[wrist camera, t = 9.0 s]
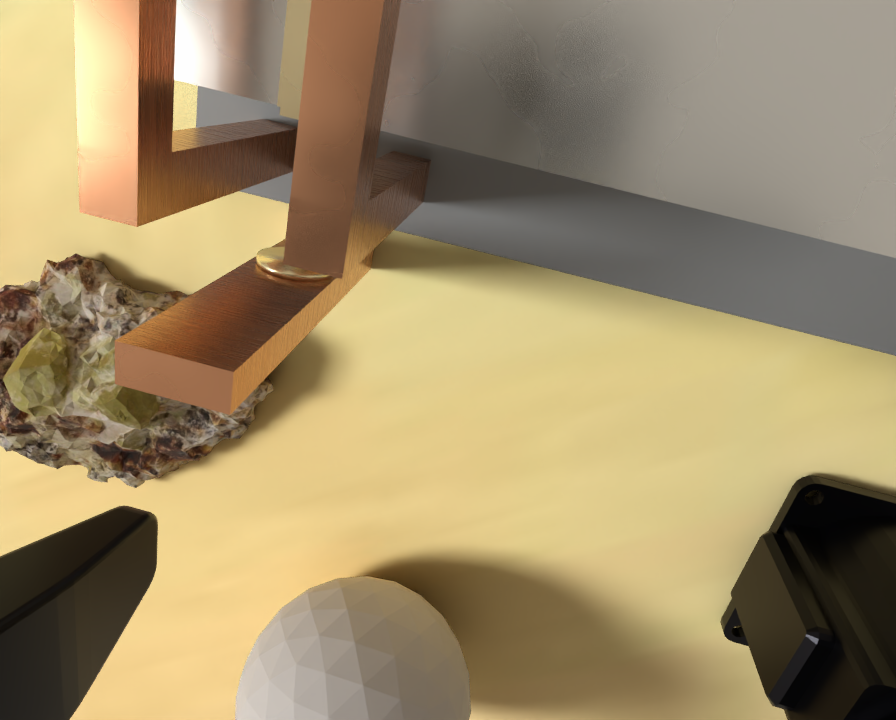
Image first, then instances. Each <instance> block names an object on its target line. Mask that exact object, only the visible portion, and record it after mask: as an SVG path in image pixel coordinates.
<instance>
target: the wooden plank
mask: <svg viewBox="0 0 896 720" xmlns="http://www.w3.org/2000/svg"><path fill="white" fill-rule="evenodd" d="M285 240H286V239H284V240H283V241H281V242H279V243H278V244H276V245H274V246H273V247H271V248H265V249H262V250H260V251H259V252H258V253H257V256H256V257H254V258H253V259H251V260H249V261H247V262H246V263H244V264H242V265H241V266H239V267H237V268H236V269H234V270H232V271H231V272H229V273H227V274H226V275H224V276H222V277H221V278H219V279H217V280H216V281H214V282H212V283H211V284H209V285H207V286H206V287H204V288H202V289H200V290H199V291H197V292H195V293H194V294H192V295H190V296H189V297H187V298H185V299H184V300H182V301H180V302H179V303H177V304H175V305H174V306H172V307H170V308H169V309H167V310H165V311H164V312H162V313H160V314H158V315H157V316H155V317H153V318H152V319H150V320H148V321H147V322H145V323H143V324H142V325H140V326H138V327H137V328H135V329H133V330H132V331H130V332H128V333H127V334H125V335H123V336H122V337H120V338H118V339H116V340H115V384H116V385H120V386H124V387H127V388H131V389H135V390H139V391H142V392H146V393H150V394H154V395H157V396H161V397H165V398H169V399H172V400H176V401H180V402H183V403H187V404H191V405H195V406H198V407H202V408H206V409H210V410H213V411H217V412H221V413H225V414H228V415H231V414H232V413H233V412H234V411H235V409H236V408H237V407H238V406H239V405H240V404H241V403H242V402H243V401H244V400H245V399H246V398H247V397H248V396H249V395H250V394H251V393H252V392H253V391H254V390H255V389H256V388H257V387H258V386H259V384H260V383H261V382H262V381H263V380H264V379H265V378H266V377H267V376H268V375H269V374H270V373H271V372H272V371H273V370H274V369H275V368H276V367H277V366H278V365H279V364H280V363H281V362H282V361H283V360H284V358H285V357H286V356H287V355H288V354H289V353H290V352H291V351H292V350H293V349H294V348H295V347H296V346H297V345H298V344H299V343H300V342H301V341H302V340H303V339H304V338H305V337H306V336H307V335H308V333H309V332H310V331H311V330H312V329H313V328H314V327H315V326H316V325H317V324H318V323H319V322H320V321H321V320H322V319H323V318H324V317H325V316H326V315H327V314H328V313H329V312H330V311H331V310H332V309H333V307H334V306H335V305H336V304H337V303H338V302H339V301H340V300H341V299H342V298H343V297H344V296H345V295H346V294H347V293H348V292H349V291H350V290H351V289H352V288H353V287H354V286H355V285H356V284H357V282H358V281H359V280H360V279H361V278H362V277H363V276H364V275H365V274H366V273H367V272H368V271H369V270H370V269H371V263H372V257H373V251H374V249H373V250H372V251H371V252H370V253H369V254H368V255H367V256H366V257H365V258H364V259H363V260H362V261H361V262H360V263H359V264H358V265H357V266H356V267H354V268H353V269H352V270H351V271H350V272H349V273H348V274H347V275H346V276H345V277H344V278H343V279H340V278H336V277H332V276H328V275H324V274H320V273H316V272H312V271H308V270H304V269H300V268H297V267H293V266H289V265H285V264H283V259H284V250H285Z"/></svg>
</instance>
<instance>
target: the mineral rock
mask: <svg viewBox="0 0 896 720" xmlns="http://www.w3.org/2000/svg"><path fill="white" fill-rule="evenodd" d="M191 295H192V294H191ZM189 296H190V295H186V294H184V293H182V292H180V291H174V292H166V293H165V294H157V293H153V292H147V291H139V290H135V289H133V288H131V287H130V286H129V285H127V284H125V283H123V282H122V281H121V280H116V279H115V278H114V277H113V276H112V275H111V274H110V272H109V271H108V270H107V268H106V266H105V265H104V263H103V262H101V261H96V260H91V259H87V258H84V257H82V256H80V255H78V254H74V255H73V256H71V257H67V258H66V259H65V260H64V261H61V262H58V263H56V262H53V261H50V260H47V262H46V264H45V266H44V269H43V272H42V275H41V279H40V281H39V282H35V281H30V282H27V283H25V284H24V285H16V286H13V285H5V286H4V287H3V288H1V289H0V446H2V447H4V448H5V450H6V451H11V450H13V451H16V452H18V453H19V454H21V455H23V456H25V457H27V458H29V459H31V460H34V461H35V462H37V463H41V464H45V465H48V466H50V467H54V468H57V469H58V468H60V467H62V466H64V465H82V466H84V467H87V468H88V470H89V471H88V475H87V477H88V478H90V479H92V480H94V481H100V482H107V478H110V477H114V476H116V477H117V478H120V479H121V480H122V481H123V482H124V483H126V484H127V485H129V486H132V487H134V488H136V487H138V486H139V485H141V484H143V483H144V482H145V480H150V479H153V478H156V477H158V478H160V477H161V476H163V475H164V474H165V473H167V472H169V471H174V470H176V469H178V468H179V465H181V464H187V463H188V462H189V461H196V460H199V459H200V457H201V455H202V456H206V455H207V454H208V453H210V452H211V451H212V448H213V446H214V445H216V444H217V443H219V442H220V441H222V440H223V439H230V438H240V437H241V436H242V435H243V433H244V432H245V431H246V430H247V429H248V427H249V425H250V423H251V422H252V421H253V420H254V419H255V415H254V406H255V405H256V404H257V403H259V402H261V401H264V399H265V397H266V395H267V394H269V393H270V392H272V391H273V390H274V389H273V384H271V383H270V380H269V379H268V378H267V377H266V378H265V379H264V380H263V381H262V382H261V383H260V384H259V386H258V387H257V388H256V389H255V390H254V391H253V392H252V393H251V394H250V395H249V396H248V397H247V398H246V399H245V400H244V401H243V402H242V403H241V404H240V405H239V406H238V407H237V408H236V409H235V411H234V412H233V413H232V414H231V415H228V414H225V413H221V412H217V411H213V410H210V409H206V408H202V407H198V406H195V405H191V404H187V403H183V402H180V401H176V400H172V399H169V398H165V397H161V396H157V395H154V394H150V393H146V392H142V391H139V390H135V389H131V388H127V387H124V386H120V385H116V384H115V340H116V339H118V338H120V337H122V336H123V335H125V334H127V333H128V332H130V331H132V330H133V329H135V328H137V327H138V326H140V325H142V324H143V323H145V322H147V321H148V320H150V319H152V318H153V317H155V316H157V315H158V314H160V313H162V312H164V311H165V310H167V309H169V308H170V307H172V306H174V305H175V304H177V303H179V302H180V301H182V300H184V299H185V298H187V297H189Z"/></svg>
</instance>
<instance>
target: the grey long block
mask: <svg viewBox="0 0 896 720" xmlns="http://www.w3.org/2000/svg"><path fill="white" fill-rule="evenodd" d="M310 10H311V0H176V31H175V64H174V80H178V81H182V82H186V83H190V84H194V85H198V86H202V87H206V88H210V89H214V90H218V91H222V92H226V93H230V94H234V95H238V96H242V97H246V98H250V99H254V100H259V101H263V102H267V103H271V104H275V105H277V106H278V107H280V115H281V116H285V117H289V118H293V119H297V120H299V111H300V102H301V93H302V84H303V74H304V65H305V56H306V47H307V37H308V28H309V19H310ZM380 131H384V132H388V133H392V134H396V135H400V136H404V137H408V138H412V139H416V140H420V141H424V142H428V143H432V144H436V145H441V146H445V147H449V148H453V149H457V150H461V151H465V152H469V153H473V154H477V155H481V156H485V157H489V158H493V159H497V160H501V161H505V162H509V163H513V164H517V165H521V166H525V167H529V168H534V169H538V170H542V171H546V172H550V173H554V174H558V175H562V176H566V177H570V178H574V179H578V180H582V181H586V182H590V183H594V184H598V185H602V186H606V187H610V188H614V189H618V190H623V191H627V192H631V193H635V194H639V195H643V196H647V197H651V198H655V199H659V200H663V201H667V202H671V203H675V204H679V205H683V206H687V207H691V208H695V209H699V210H703V211H707V212H711V213H716V214H720V215H724V216H728V217H732V218H736V219H740V220H744V221H748V222H752V223H756V224H760V225H764V226H768V227H772V228H776V229H780V230H784V231H788V232H792V233H796V234H800V235H804V236H809V237H813V238H817V239H821V240H825V241H829V242H833V243H837V244H841V245H845V246H849V247H853V248H857V249H861V250H865V251H869V252H873V253H877V254H881V255H885V256H889V257H893V258H896V0H401V4H400V10H399V17H398V23H397V29H396V35H395V42H394V48H393V54H392V60H391V67H390V73H389V79H388V85H387V92H386V98H385V104H384V110H383V116H382V123H381V129H380Z"/></svg>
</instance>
